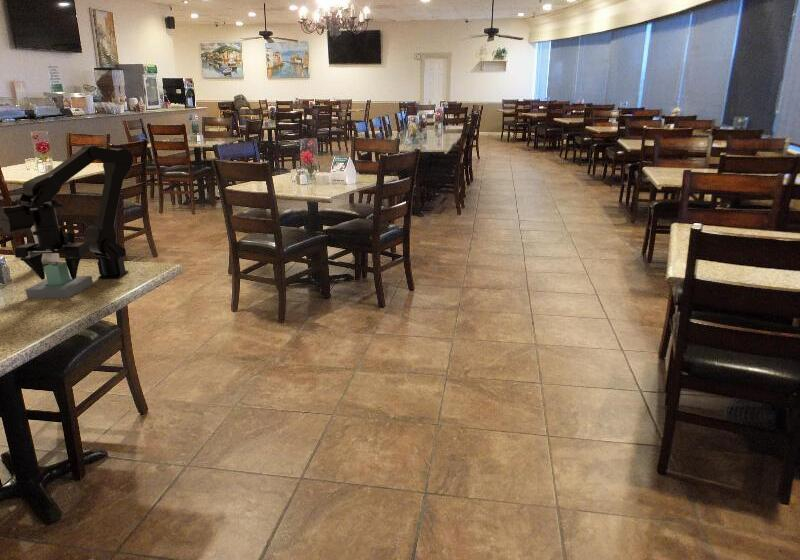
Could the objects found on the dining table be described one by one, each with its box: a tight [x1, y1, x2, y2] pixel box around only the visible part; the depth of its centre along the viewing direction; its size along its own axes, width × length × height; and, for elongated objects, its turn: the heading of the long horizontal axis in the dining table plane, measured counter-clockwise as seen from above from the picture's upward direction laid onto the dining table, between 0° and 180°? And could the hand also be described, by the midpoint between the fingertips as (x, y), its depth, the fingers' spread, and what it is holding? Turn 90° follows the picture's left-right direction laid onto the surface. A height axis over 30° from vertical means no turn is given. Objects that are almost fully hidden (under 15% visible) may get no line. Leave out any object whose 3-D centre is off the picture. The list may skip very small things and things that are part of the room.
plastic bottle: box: [30, 208, 60, 266], centre depth 191 cm, size 6×7×20 cm
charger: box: [43, 260, 71, 286], centre depth 165 cm, size 4×4×9 cm
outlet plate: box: [25, 275, 94, 299], centre depth 166 cm, size 12×12×2 cm
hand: (58, 279), depth 165 cm, fingers open, 9 cm apart
